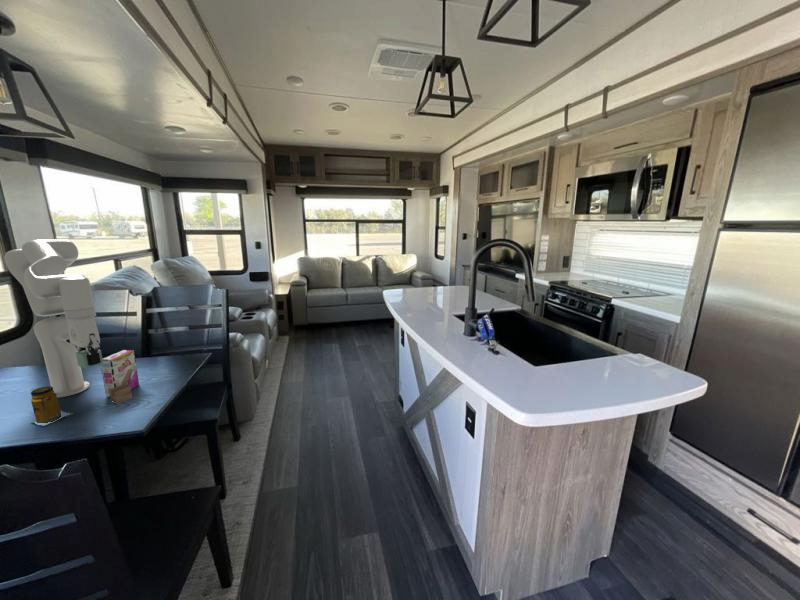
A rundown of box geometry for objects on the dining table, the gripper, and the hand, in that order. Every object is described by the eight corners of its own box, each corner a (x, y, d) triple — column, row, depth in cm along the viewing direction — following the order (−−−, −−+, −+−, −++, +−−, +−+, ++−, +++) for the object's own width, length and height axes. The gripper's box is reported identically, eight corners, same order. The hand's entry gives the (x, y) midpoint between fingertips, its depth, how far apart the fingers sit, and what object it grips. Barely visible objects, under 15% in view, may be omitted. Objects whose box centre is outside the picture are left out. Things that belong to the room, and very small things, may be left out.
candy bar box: (117, 398, 130) (110, 360, 126) (105, 397, 130) (98, 359, 127) (140, 385, 141) (134, 349, 137) (129, 384, 141) (123, 349, 137)
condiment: (30, 423, 113) (22, 392, 110) (60, 410, 121) (53, 381, 118) (44, 427, 111) (36, 395, 108) (74, 414, 119) (67, 384, 116)
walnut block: (110, 401, 128) (108, 389, 127) (125, 395, 132) (123, 384, 131) (117, 404, 126) (115, 392, 125) (132, 398, 130) (130, 387, 129)
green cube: (78, 365, 113) (75, 352, 112) (96, 360, 118) (93, 347, 116) (85, 368, 111) (82, 355, 110) (103, 363, 116) (100, 350, 114)
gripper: (53, 312, 110) (65, 361, 114) (78, 319, 103) (89, 371, 107) (82, 307, 117) (91, 354, 121) (107, 313, 110) (116, 363, 114)
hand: (90, 362), depth 114 cm, fingers closed on green cube, 4 cm apart
